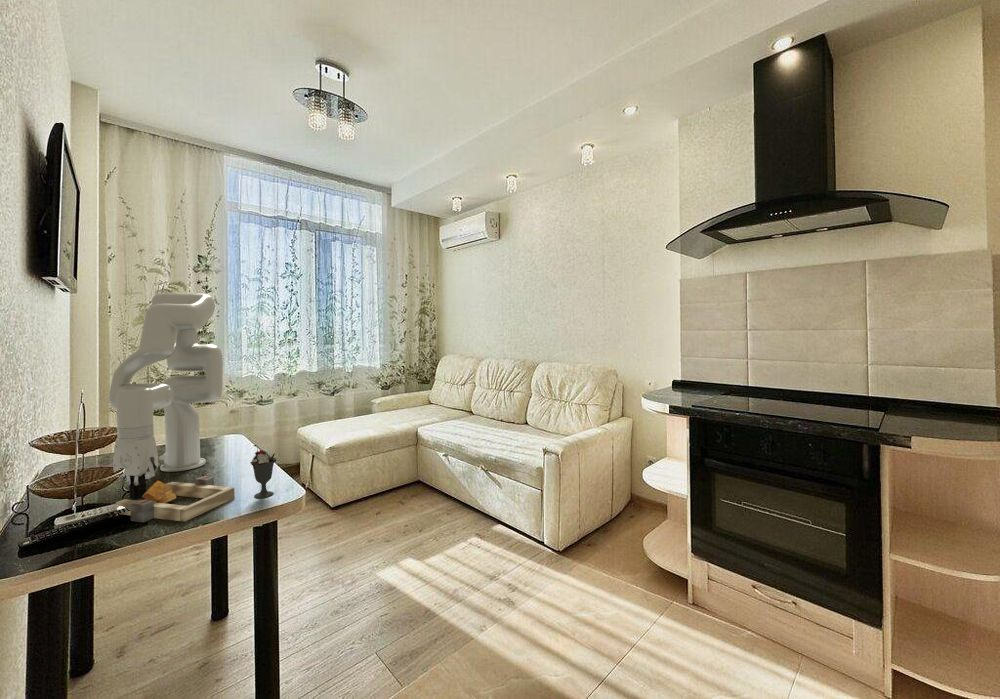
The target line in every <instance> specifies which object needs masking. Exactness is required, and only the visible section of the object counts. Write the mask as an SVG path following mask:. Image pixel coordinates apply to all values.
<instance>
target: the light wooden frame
mask: <svg viewBox="0 0 1000 699" xmlns="http://www.w3.org/2000/svg"><path fill="white" fill-rule="evenodd" d="M214 478H215V477H214V476H209V475H205V476H204V475H202V476H198V477H196V478H194V483H191V482H190V483H189V482H178V481H171V482H170V481H169V482H168V483H165V484H166V485H168V486H169V487H170V488H169V489H168V490H167V491H169V490H172V489H173V491H174V493H175V495H176V497H177V496H178V497H188V498H197V499H199V498H200V500H198V501H196V502H193V503H191V504H189V505H181V504H173V503H171V504H170V503H160V502H158V501H157V502H154V501H149V500H146V499H136V500H133V499H126V498H124V499H121V500H118V501H115V506H116V505H118V506H123V507H125V508H127V509H128V510H130V511H125V512H121V513H119V514H118V515H125V516H130V521H131V522H136V523H146V522H148V521H151V520H153V519H160V520H167V521H176V522H177V521H178V522H187V521H190V520H192V519H193V518H195V517H198V516H200V515H202V514H204V513H206V512H209V511H211V510H212V509H214V508H217V507H219V506H221V505H223V504H225V503H228V502H230V501H232V500H233V499H235V487H232V486H222V485H221V486H220V485H215V481H214V480H215V479H214Z"/></svg>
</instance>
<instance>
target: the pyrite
mask: <svg viewBox="0 0 1000 699" xmlns="http://www.w3.org/2000/svg"><path fill="white" fill-rule="evenodd" d="M166 484H167V483H163V481H160V480H157V481H155V482H154V483H153V484H152V485H151V486H150V487H148V489H146V492H145V493H144V495H143V496H142V497H141V498H143V500H145V499H146V500H149V501H154V502H157V503H164V504H167V503H168V502H172V501H173V500H175V499H177V495H175V493H174V491H173V489H172V490H169V491H167V490H168V489H169V488H170V487H169V486H168V485H166Z"/></svg>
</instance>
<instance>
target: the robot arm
mask: <svg viewBox="0 0 1000 699" xmlns="http://www.w3.org/2000/svg"><path fill="white" fill-rule="evenodd" d="M151 298H152V299H151V305H150V306H149V307H148V308H147V310H145V311H146V312H145V316H144V320H143V326H142V331H141V335H140V342H139V345H138V348H137V350H136V351H135V352H133V353H132V354H130V355H128V357H127V358H125V359H124V360H123V361H122V362H121V363H120V364H119V365H118V366H117V368H116V370H115V371H114V373H113V375H112V379H111V384H110V389H109V394H108V395H109V396H108V402H109V404H110V406H111V407H112V408H113V409H115V410H116V426H117V428H116V429H117V437H116V439H115V443H114V448H113V458H112V459H113V461H112V462H113V464H112V465H113V466H112V467H113V473H115V472H116V471H118V470H121V469H120V468H124V469H125V471H124V473H123V474H122V476H121V477H124V478H125V479H126V483H127V485H128V491H129V500H136V501H137V500H140V499H141V498H143V497H142V496H143V495H144V493H145V492H146V491H147V482H148V481H149V479H152V478H155V477H156V473H155V471H157V469H158V466H159V461H160V460H161V461H163V463H162V464H161V465H160V467H159V468H160V471H161V472H166V473H170V472H171V473H172V472H173V473H175V472H183V471H188V470H193V469H196V468H199V467H202V466H203V465H206V460H207V459H205V458H204V457H201V442H200V441H201V438H200V435H201V434H200V414H199V412H198V410H197V409H196V408H195V407H194V405H193V404H197V403H201V404H202V403H214V402H217V401H219V400H220V399H221V398H222V395H223V384H224V383H223V370H224V369H223V366H224V365H223V364H224V362H223V359H224V358H223V353H222V351H221V348H220V347H219V346H217V345H215V344H208V343H207V344H206V343H205V344H204V343H203V344H199V343H198V342H199V341H198V334H199V333H198V331H199V330H200V329H202V328H203V327H204V326H205V324H207V322H208V321H209V320H210V319H211V318H212V316H213V314H214V313H215V308H216V305H215V304H216V303H215V300H214V299H213V297H212V296H211V295H209V294H206V293H196V292H195V293H188V292H187V293H186V292H161V293H157V294H156V293H155V295H153V296H152V297H151ZM162 360H166V365H167V367H168V369H169V370H170V371H173V372H177V373H179V372H180V373H181V372H182V373H185V372H186V373H192V372H194V373H195V372H196V373H197V372H203V373H205V374H204V375H203V374H202V375H192V374H191V375H174V376H169V377H167V378H165V379H163V381H161V383H158V382H157V383H156V382H154V383H148V382H147V383H131V381H132V379H133V378H134V376H135V375H136V374H137V373H138V372H140V370H142V369H144V368H146V367H148V366H151V365H153V364H156V363H157V362H160V361H162ZM160 409H163V413H164V438H165V439H164V440H165V441H164V442H165V446H164V447H165V452H164V453H162V455H158V449H157V448H158V447H157V443H156V439H155V436H154V435H155V432H154V430H155V429H154V428H155V427H154V410H160Z"/></svg>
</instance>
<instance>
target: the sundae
mask: <svg viewBox="0 0 1000 699" xmlns="http://www.w3.org/2000/svg"><path fill="white" fill-rule="evenodd" d="M253 447H256V449H257V450H256V452H254V454H255V455H254V456H253V457H252V460H251V461H250V463H249V464H250V465H251V466H252V468H253V473H254V478H255V481H256V482H257V483H259V484H260V486H261V489H260V491H259V492H258V493H255V494H254V495H253V497H254V498H255V499H266V498H269V497H272V496H273V495H274V492H273V491H269V490H268V489H267V483H268V482H269V481H270V480H271V479H272V478H273V477H272V476H273V472H274V463H276V462H277V458H276V457H274V456H275V453H273V454H272V455H271V453H270V452H268V451H266V450H263V449H261V448H260V447H259V446H258V445H257V444H254V445H253Z"/></svg>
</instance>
